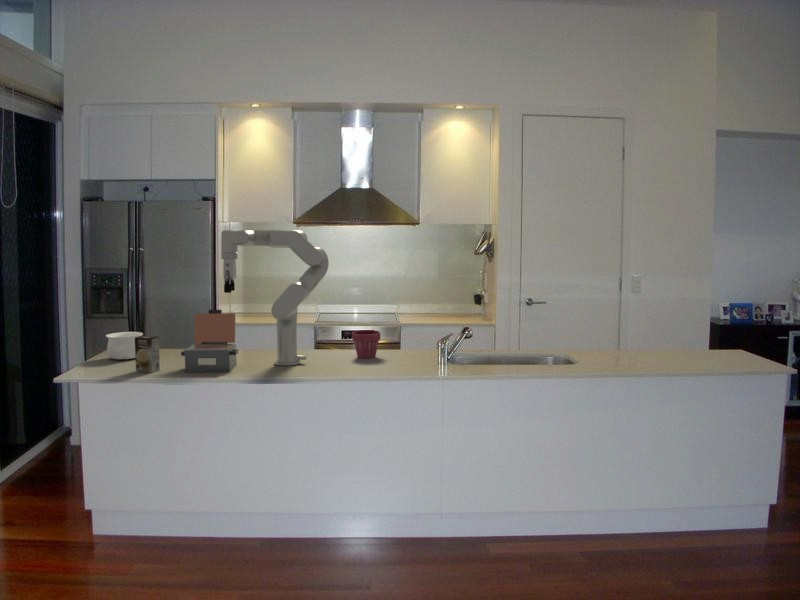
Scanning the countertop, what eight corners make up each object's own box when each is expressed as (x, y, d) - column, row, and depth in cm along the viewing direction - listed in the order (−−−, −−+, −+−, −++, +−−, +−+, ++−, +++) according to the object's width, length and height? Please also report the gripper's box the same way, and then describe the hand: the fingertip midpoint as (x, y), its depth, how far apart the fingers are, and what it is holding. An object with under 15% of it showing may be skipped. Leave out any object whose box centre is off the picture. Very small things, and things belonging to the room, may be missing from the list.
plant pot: (368, 360, 343) (367, 335, 341) (346, 357, 351) (346, 332, 350) (386, 356, 354) (386, 331, 353) (364, 353, 362) (364, 329, 361)
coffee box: (135, 372, 319) (133, 337, 317) (143, 369, 325) (142, 335, 323) (152, 373, 317) (151, 338, 315) (160, 370, 323) (159, 336, 321)
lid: (234, 343, 333) (235, 343, 335) (234, 309, 334) (235, 309, 337) (194, 344, 332) (195, 344, 335) (194, 309, 333) (196, 310, 336)
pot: (136, 362, 342) (135, 337, 341) (100, 363, 341) (99, 338, 340) (149, 354, 364) (148, 331, 363) (115, 354, 363) (113, 331, 361)
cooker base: (241, 364, 334) (240, 343, 333) (234, 372, 318) (234, 349, 317) (189, 365, 333) (188, 343, 332) (179, 372, 317) (178, 350, 316)
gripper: (234, 257, 326) (234, 293, 328) (240, 255, 343) (240, 290, 345) (218, 256, 325) (218, 293, 327) (224, 255, 342) (224, 289, 344)
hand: (229, 291), depth 336 cm, fingers open, 9 cm apart
